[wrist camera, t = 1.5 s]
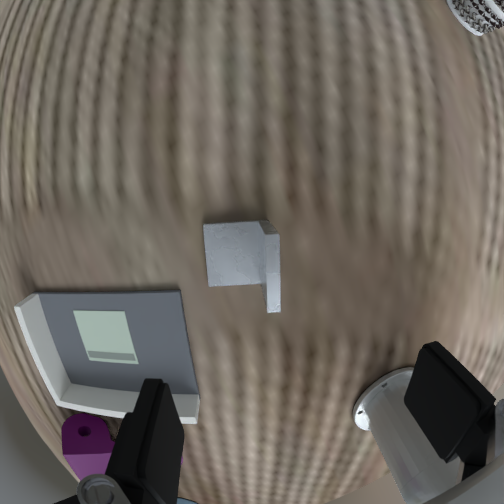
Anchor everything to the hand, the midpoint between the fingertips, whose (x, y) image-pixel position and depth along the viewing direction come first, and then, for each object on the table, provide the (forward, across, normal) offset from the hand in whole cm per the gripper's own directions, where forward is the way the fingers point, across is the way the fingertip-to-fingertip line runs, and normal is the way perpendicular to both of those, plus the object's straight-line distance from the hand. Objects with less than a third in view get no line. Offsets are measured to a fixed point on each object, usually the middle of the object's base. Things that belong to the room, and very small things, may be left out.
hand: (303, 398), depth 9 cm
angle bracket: (+19, +2, 0) cm, 19 cm away
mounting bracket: (+19, +22, +30) cm, 42 cm away
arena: (+19, +18, +11) cm, 28 cm away
